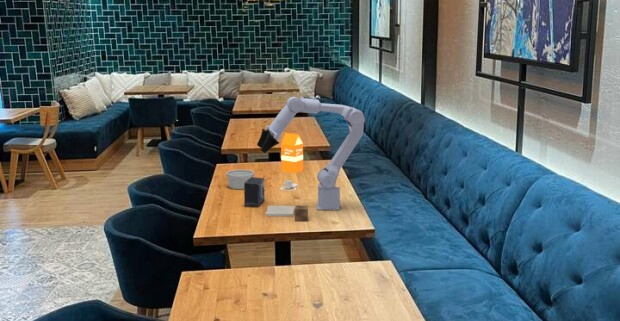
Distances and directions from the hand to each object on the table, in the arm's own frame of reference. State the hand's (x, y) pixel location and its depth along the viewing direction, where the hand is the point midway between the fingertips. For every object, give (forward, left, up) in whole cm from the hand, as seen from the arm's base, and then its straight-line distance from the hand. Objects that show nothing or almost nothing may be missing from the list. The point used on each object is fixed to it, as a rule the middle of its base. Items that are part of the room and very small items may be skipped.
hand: (260, 149), depth 240 cm
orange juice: (-9, -72, -27) cm, 77 cm away
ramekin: (+14, -39, -27) cm, 49 cm away
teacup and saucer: (-12, -35, -27) cm, 46 cm away
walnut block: (-17, +10, -26) cm, 33 cm away
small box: (+4, -11, -27) cm, 29 cm away
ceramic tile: (-8, +1, -26) cm, 27 cm away
